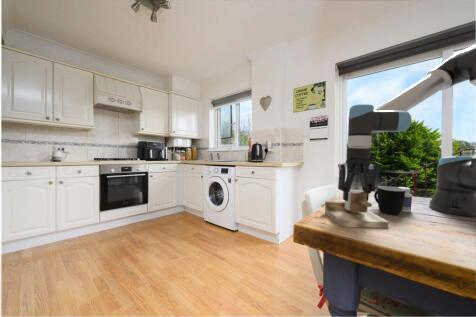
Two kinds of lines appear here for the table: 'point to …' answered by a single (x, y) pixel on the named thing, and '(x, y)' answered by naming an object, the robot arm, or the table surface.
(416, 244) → the table surface
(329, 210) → the board
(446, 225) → the table surface
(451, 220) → the table surface
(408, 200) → the pill bottle
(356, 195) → the block
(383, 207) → the mug
